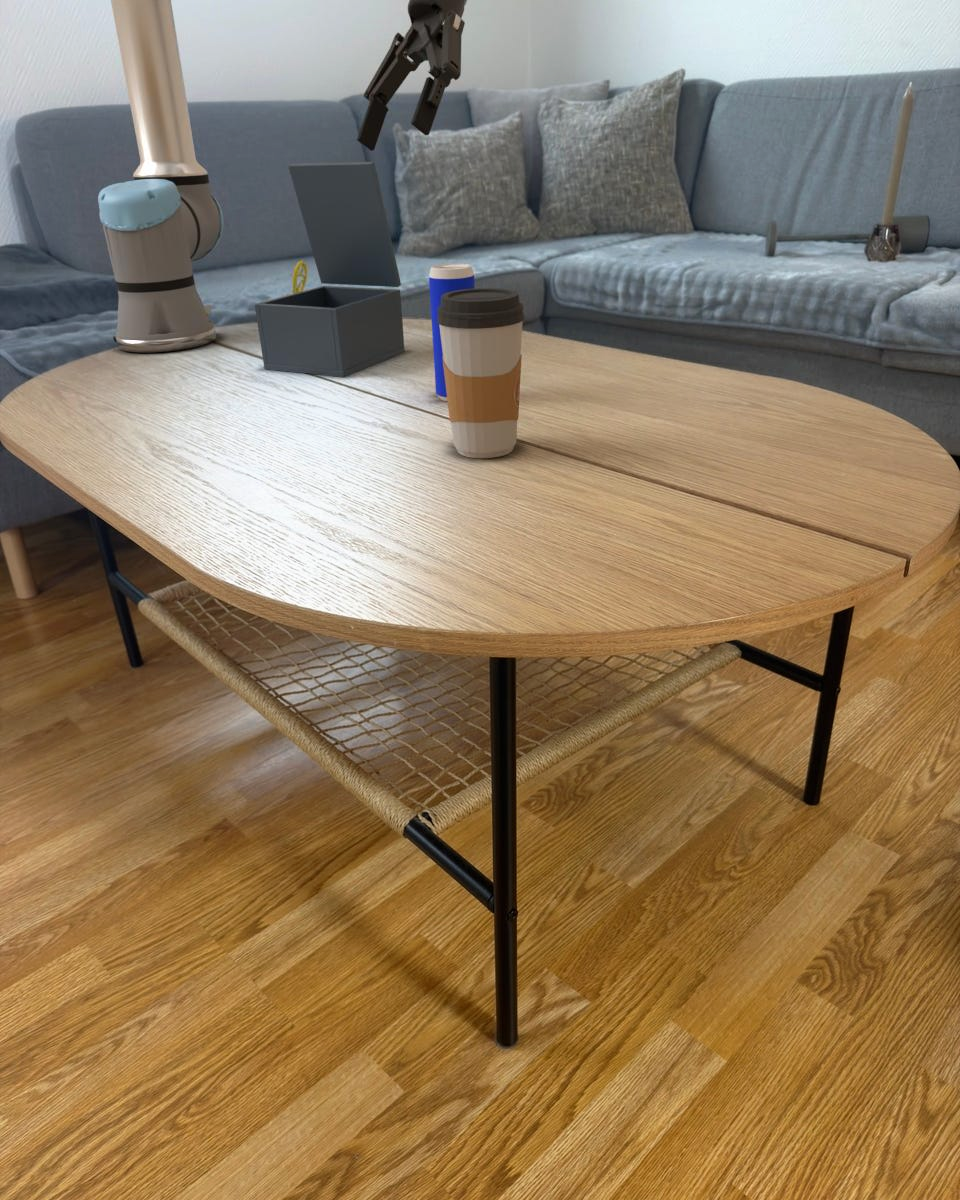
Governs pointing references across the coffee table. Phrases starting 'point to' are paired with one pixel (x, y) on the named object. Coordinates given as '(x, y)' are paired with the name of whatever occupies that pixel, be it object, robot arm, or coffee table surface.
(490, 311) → the coffee cup
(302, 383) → the coffee table surface
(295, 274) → the yellow spoked ring
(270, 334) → the chest
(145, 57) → the robot arm
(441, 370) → the beverage can
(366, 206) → the lid
